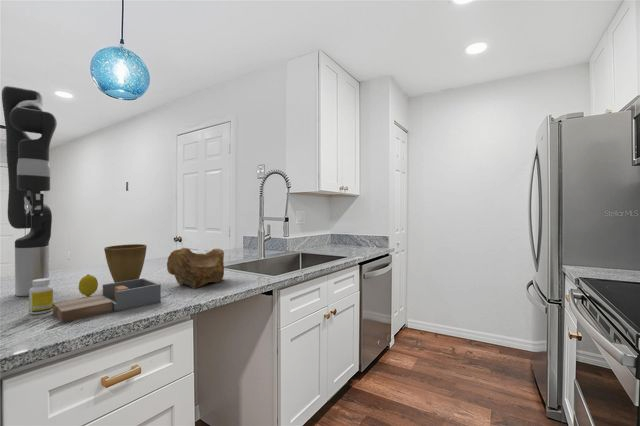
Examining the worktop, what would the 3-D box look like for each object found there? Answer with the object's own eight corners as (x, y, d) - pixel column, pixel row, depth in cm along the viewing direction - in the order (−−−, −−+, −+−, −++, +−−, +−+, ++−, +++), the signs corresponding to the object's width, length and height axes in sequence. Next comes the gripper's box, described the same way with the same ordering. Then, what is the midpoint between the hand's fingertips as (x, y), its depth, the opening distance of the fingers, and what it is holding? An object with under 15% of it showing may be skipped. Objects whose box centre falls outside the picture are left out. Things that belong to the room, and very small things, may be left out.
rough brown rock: (172, 295, 116) (174, 255, 115) (164, 282, 129) (166, 247, 128) (232, 288, 130) (235, 253, 129) (220, 277, 143) (222, 245, 142)
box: (99, 303, 103) (99, 285, 103) (143, 294, 114) (143, 278, 114) (114, 312, 94) (114, 292, 94) (160, 301, 105) (160, 284, 105)
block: (114, 286, 102) (123, 285, 104) (114, 302, 102) (123, 300, 104) (120, 289, 99) (128, 287, 101) (120, 305, 99) (128, 303, 101)
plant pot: (118, 280, 135) (118, 244, 135) (153, 280, 136) (153, 244, 136) (95, 289, 120) (95, 248, 120) (135, 289, 121) (134, 248, 121)
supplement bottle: (57, 310, 96) (57, 278, 96) (36, 315, 91) (36, 282, 91) (45, 308, 98) (45, 277, 98) (24, 313, 93) (24, 280, 92)
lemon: (87, 299, 107) (87, 276, 107) (74, 298, 109) (74, 275, 108) (101, 295, 113) (101, 273, 113) (89, 294, 114) (89, 272, 114)
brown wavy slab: (52, 313, 93) (52, 303, 93) (100, 303, 102) (100, 294, 102) (62, 322, 86) (62, 311, 85) (112, 311, 95) (112, 301, 95)
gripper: (54, 174, 94) (54, 228, 94) (45, 177, 103) (45, 226, 103) (20, 172, 88) (20, 229, 88) (13, 175, 97) (13, 227, 97)
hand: (33, 227), depth 96 cm, fingers open, 8 cm apart
